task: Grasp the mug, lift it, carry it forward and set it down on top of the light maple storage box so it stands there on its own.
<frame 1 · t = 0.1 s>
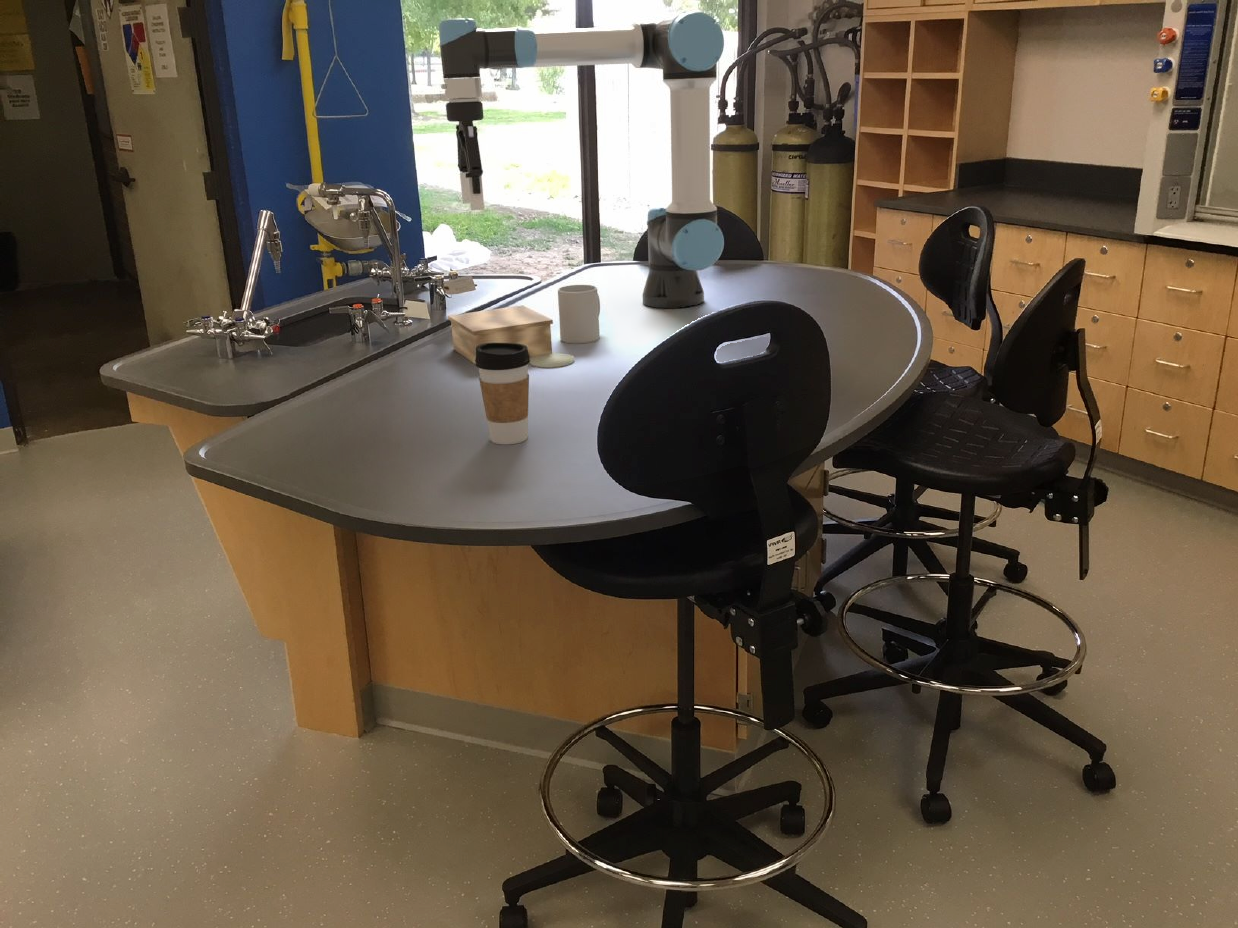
hand: (473, 206, 215), 28 cm above the countertop, fingers open, 13 cm apart
coffee cup: (509, 439, 160), on the countertop
maple box: (502, 351, 211), on the countertop
mug: (584, 338, 220), on the countertop
felt coaster: (552, 361, 202), on the countertop
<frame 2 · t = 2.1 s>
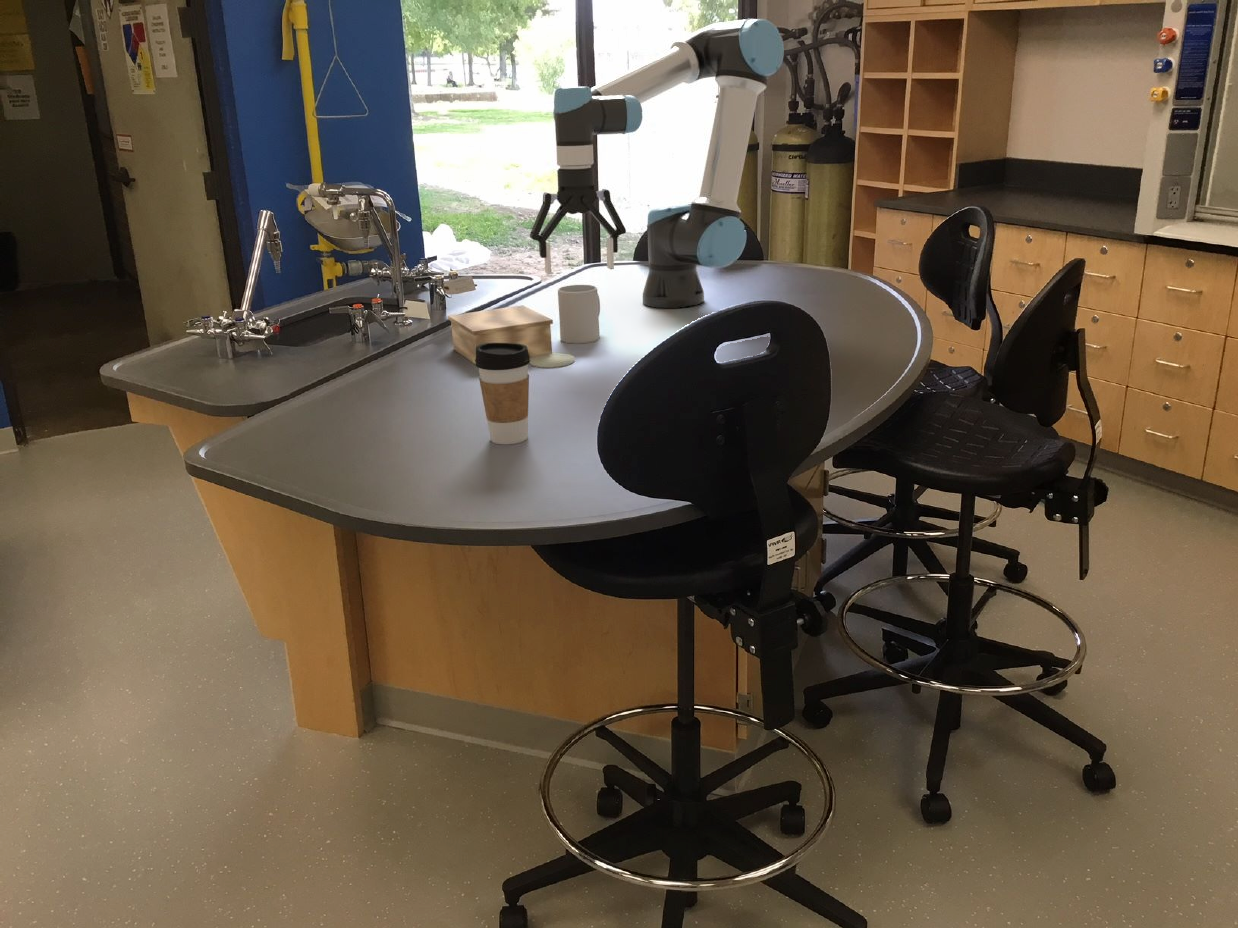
hand: (579, 271, 215), 14 cm above the countertop, fingers open, 13 cm apart
nothing on the countertop moved.
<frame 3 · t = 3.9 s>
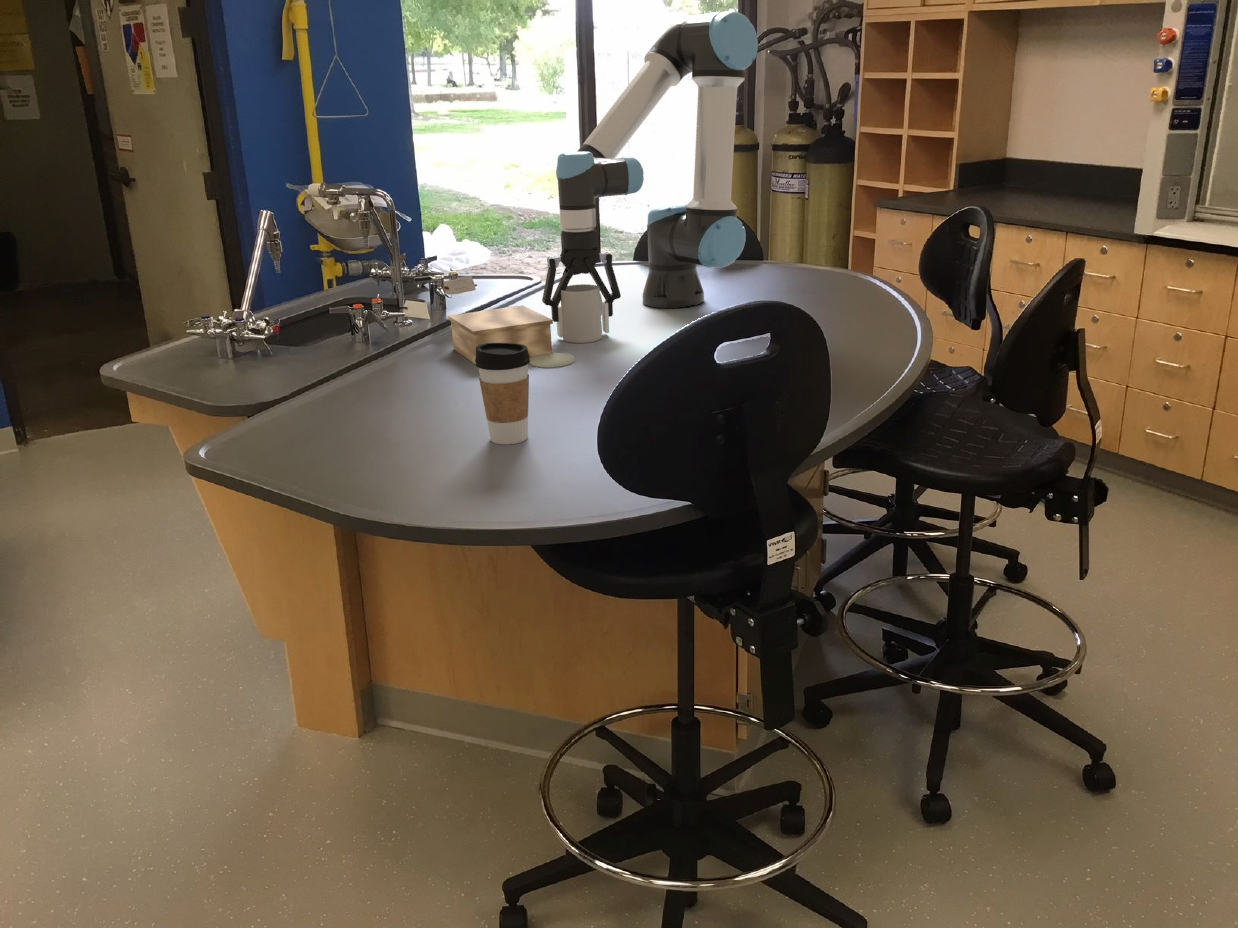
hand: (583, 333, 220), 1 cm above the countertop, fingers closed on mug, 9 cm apart
mug: (587, 337, 220), on the countertop, touching gripper
everything else where it was.
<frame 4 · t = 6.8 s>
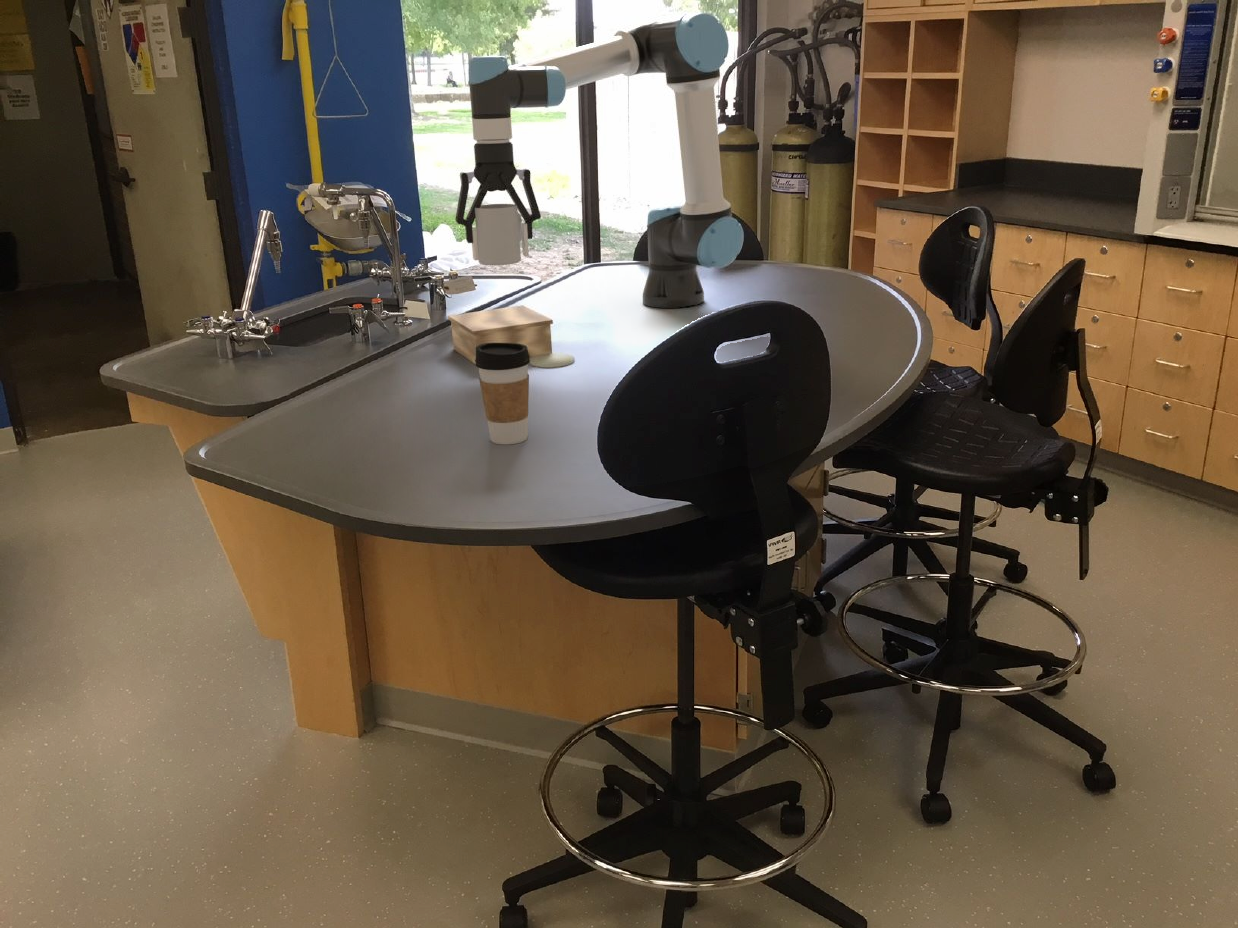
hand: (501, 257, 204), 19 cm above the countertop, fingers closed on mug, 9 cm apart
mug: (505, 261, 205), point 18 cm above the countertop, touching gripper
everything else where it was.
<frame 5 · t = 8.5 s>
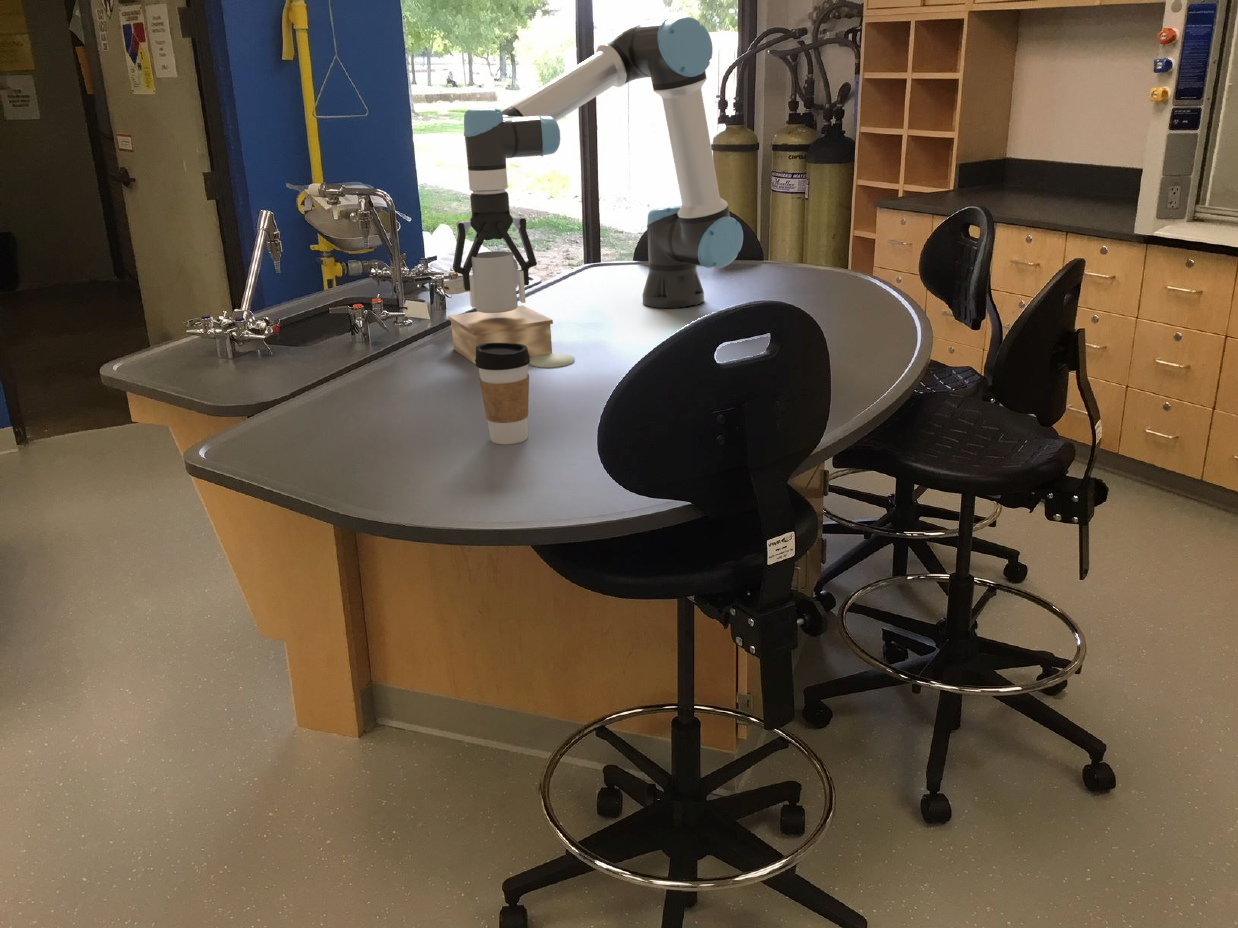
hand: (498, 303, 207), 10 cm above the countertop, fingers closed on mug, 9 cm apart
mug: (502, 307, 208), point 9 cm above the countertop, touching gripper
everything else where it was.
when the fingers open (9 cm above the countertop, at t = 9.6 s): mug drops 1 cm, resting on maple box.
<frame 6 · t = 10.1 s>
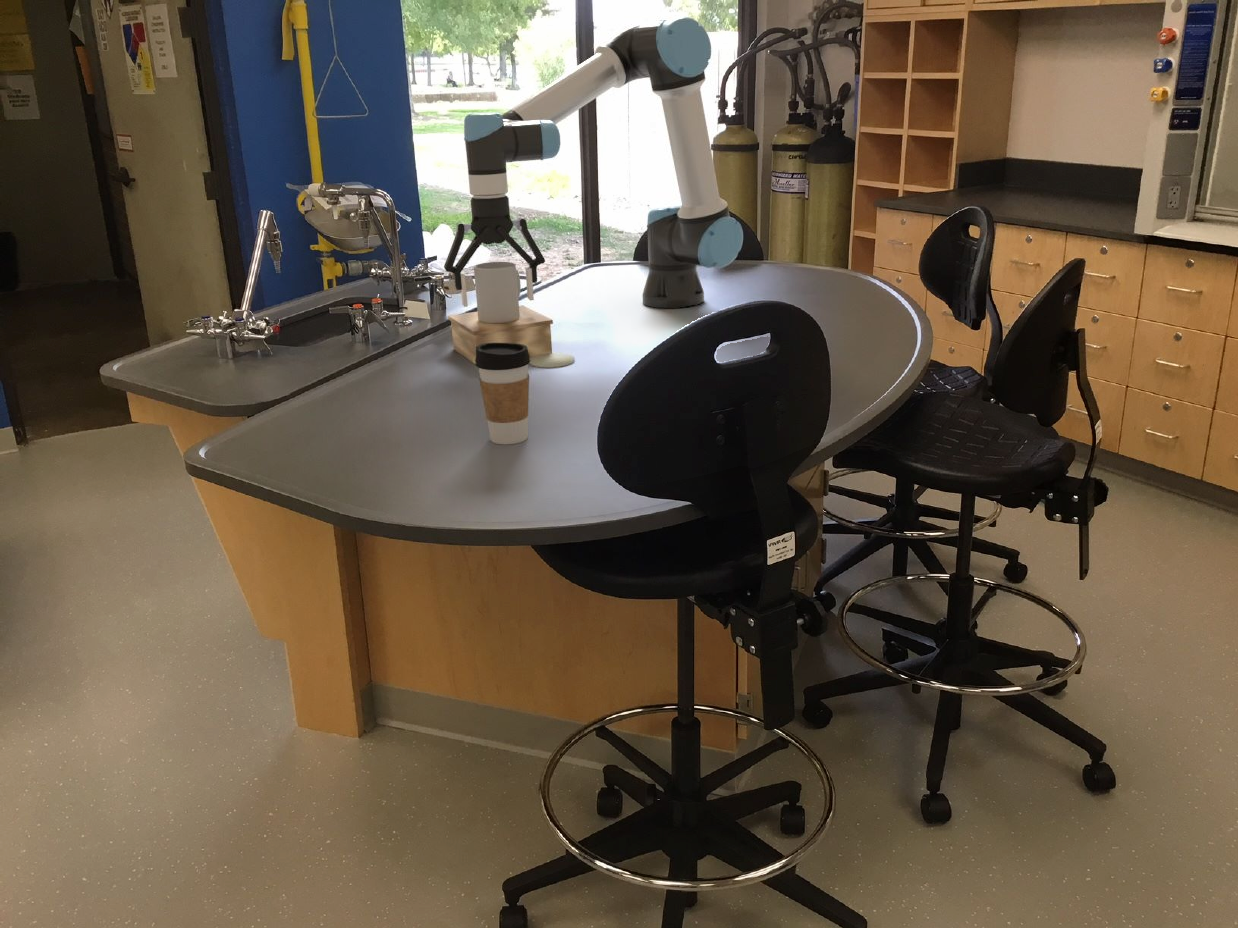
hand: (498, 302, 207), 10 cm above the countertop, fingers open, 13 cm apart
mug: (504, 318, 209), point 7 cm above the countertop, touching maple box
everything else where it was.
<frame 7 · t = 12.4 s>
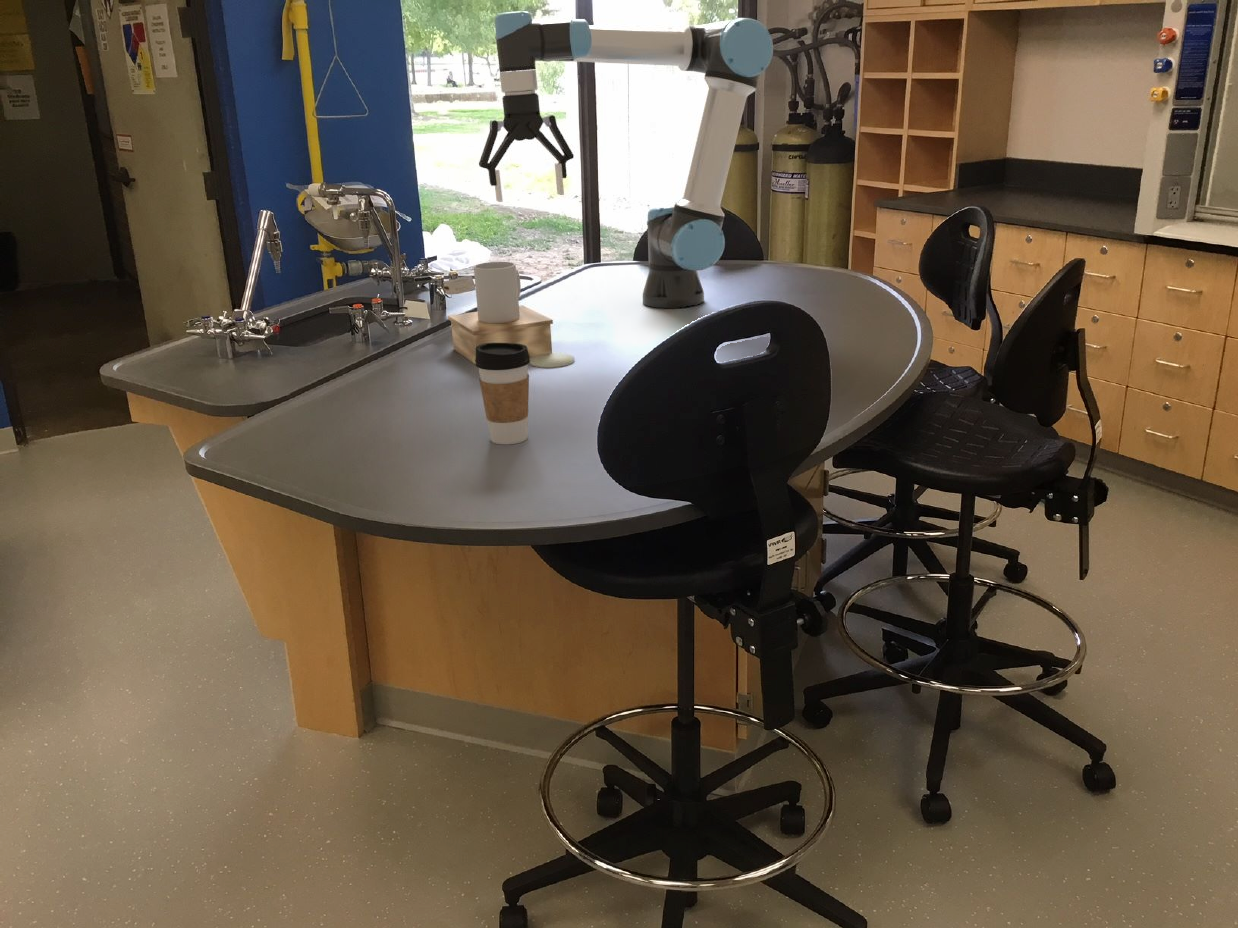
hand: (530, 198, 218), 29 cm above the countertop, fingers open, 13 cm apart
nothing on the countertop moved.
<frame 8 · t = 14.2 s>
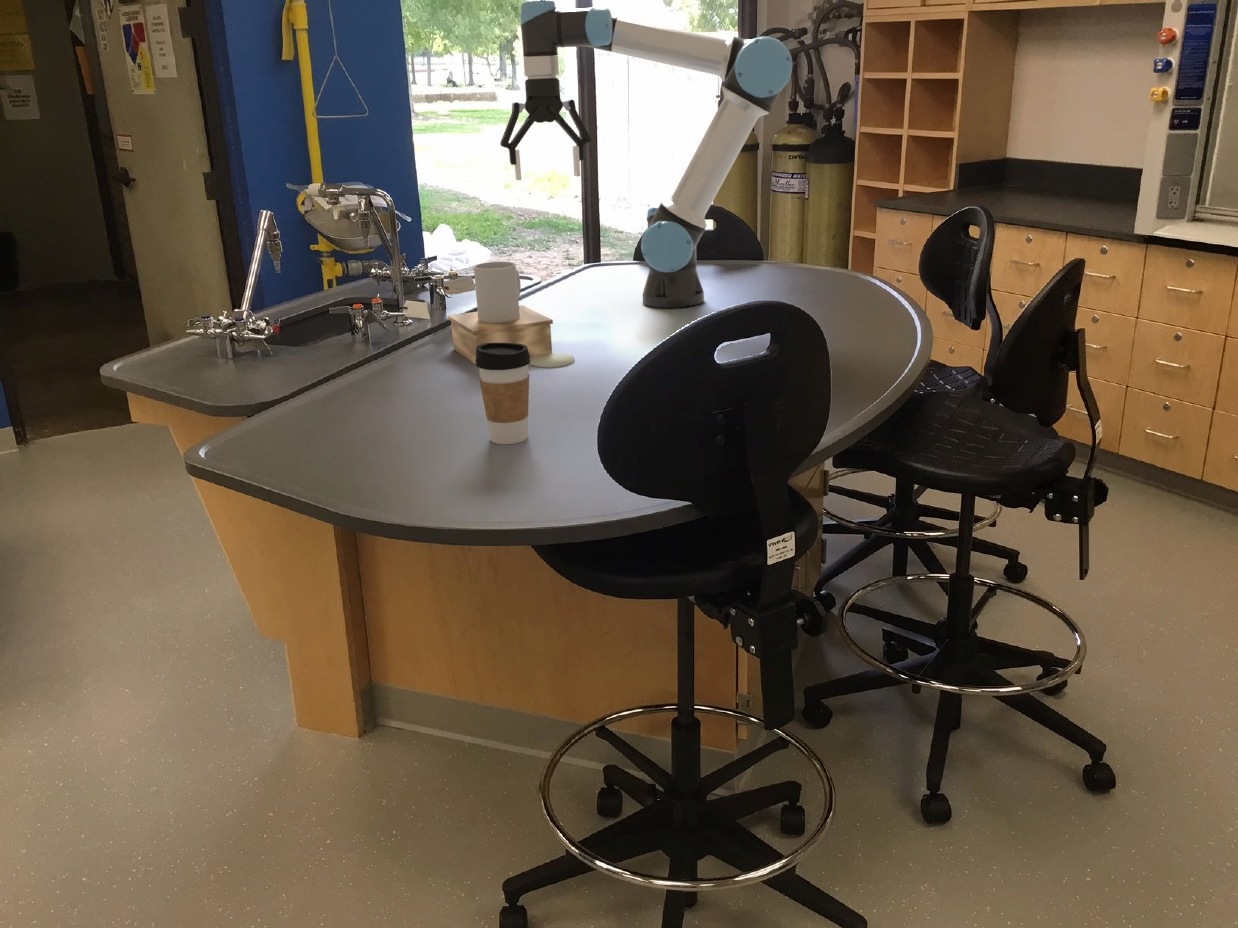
hand: (548, 178, 229), 32 cm above the countertop, fingers open, 13 cm apart
nothing on the countertop moved.
at the end: mug inside the target area on the maple box (1.0 cm from its centre), point 7.0 cm above the maple box's base; mug tilted 0°; the gripper is holding nothing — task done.
